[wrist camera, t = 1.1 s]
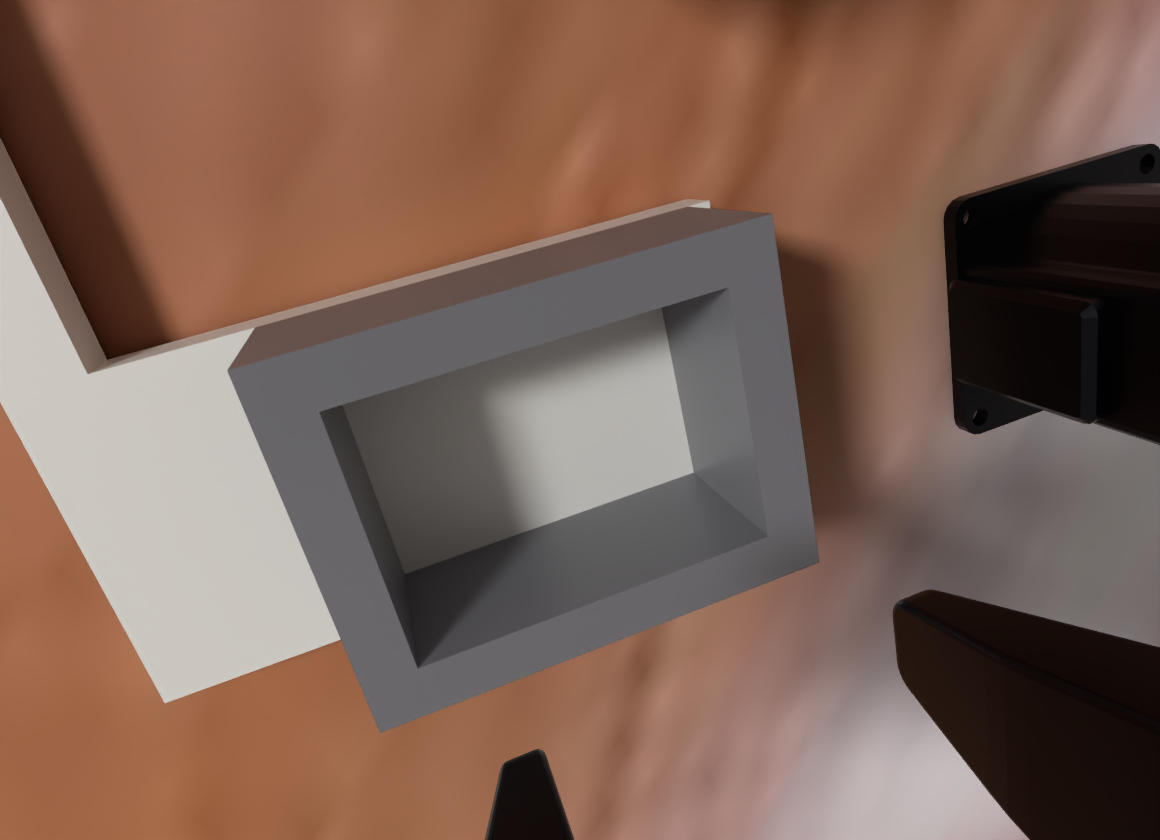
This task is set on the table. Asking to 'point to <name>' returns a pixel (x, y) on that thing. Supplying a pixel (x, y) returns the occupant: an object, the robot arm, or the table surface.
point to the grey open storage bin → (427, 455)
